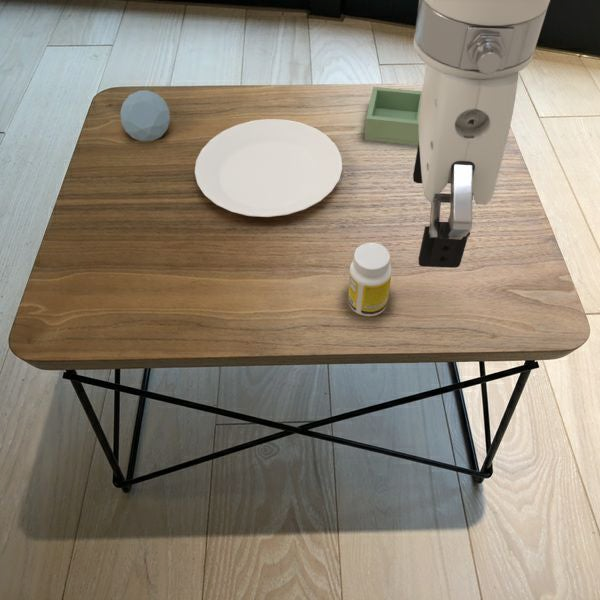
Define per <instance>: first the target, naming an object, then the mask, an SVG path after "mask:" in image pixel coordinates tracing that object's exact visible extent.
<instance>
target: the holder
mask: <svg viewBox="0 0 600 600" xmlns="http://www.w3.org/2000/svg"><path fill="white" fill-rule="evenodd" d="M421 95H422V90H413V89H402V88H401V89H400V88H391V87H382V86H381V87H380V86H373V87H372V91H371V95H370V99H369V104H368V108H367V111H366V117H365V126H364V127H365V128H364V138H363V139H364V141H373V142H381V143H392V144H399V145H400V144H401V145H409V146H417V147H418V143H419V112H420V103H421Z"/></svg>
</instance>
